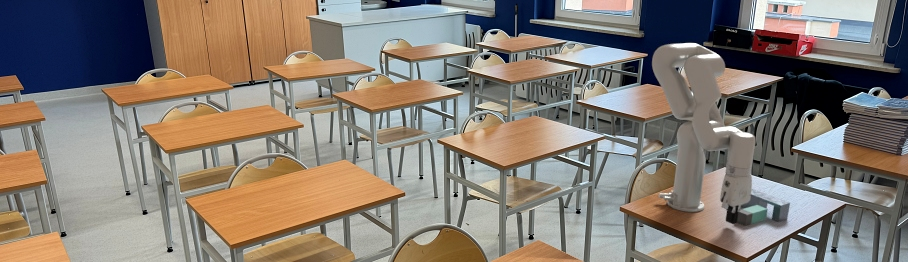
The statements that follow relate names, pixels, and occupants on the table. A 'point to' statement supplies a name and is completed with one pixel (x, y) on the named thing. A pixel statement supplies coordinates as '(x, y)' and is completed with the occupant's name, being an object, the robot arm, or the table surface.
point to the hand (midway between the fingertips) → (731, 222)
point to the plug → (752, 215)
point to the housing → (763, 199)
